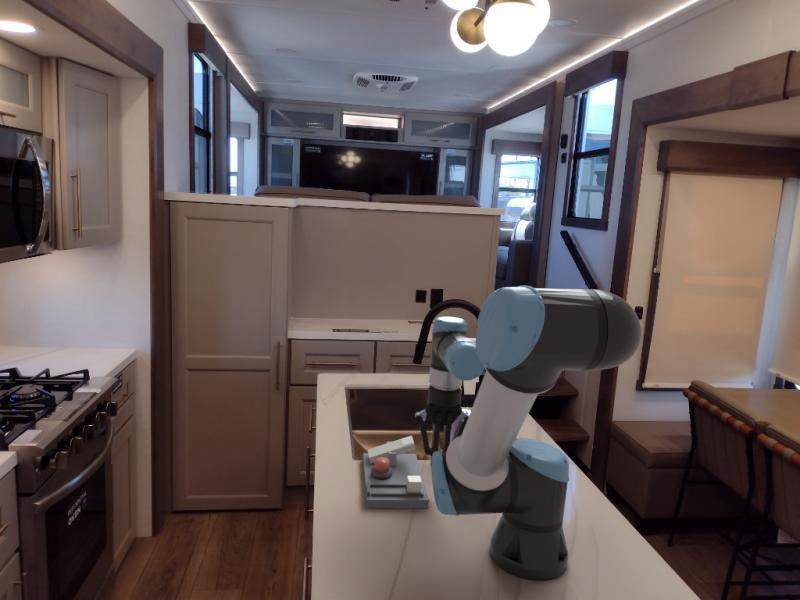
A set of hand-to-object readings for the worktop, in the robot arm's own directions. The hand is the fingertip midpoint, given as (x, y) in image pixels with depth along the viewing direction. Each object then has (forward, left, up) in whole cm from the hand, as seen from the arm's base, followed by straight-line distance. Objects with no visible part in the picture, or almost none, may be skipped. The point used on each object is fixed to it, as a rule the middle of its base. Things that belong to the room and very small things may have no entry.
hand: (437, 481), depth 135 cm
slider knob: (0, +5, -2) cm, 6 cm away
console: (+8, +9, -4) cm, 13 cm away
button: (+8, +12, -1) cm, 15 cm away
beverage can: (+18, -9, -5) cm, 20 cm away
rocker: (+16, +9, +1) cm, 18 cm away
